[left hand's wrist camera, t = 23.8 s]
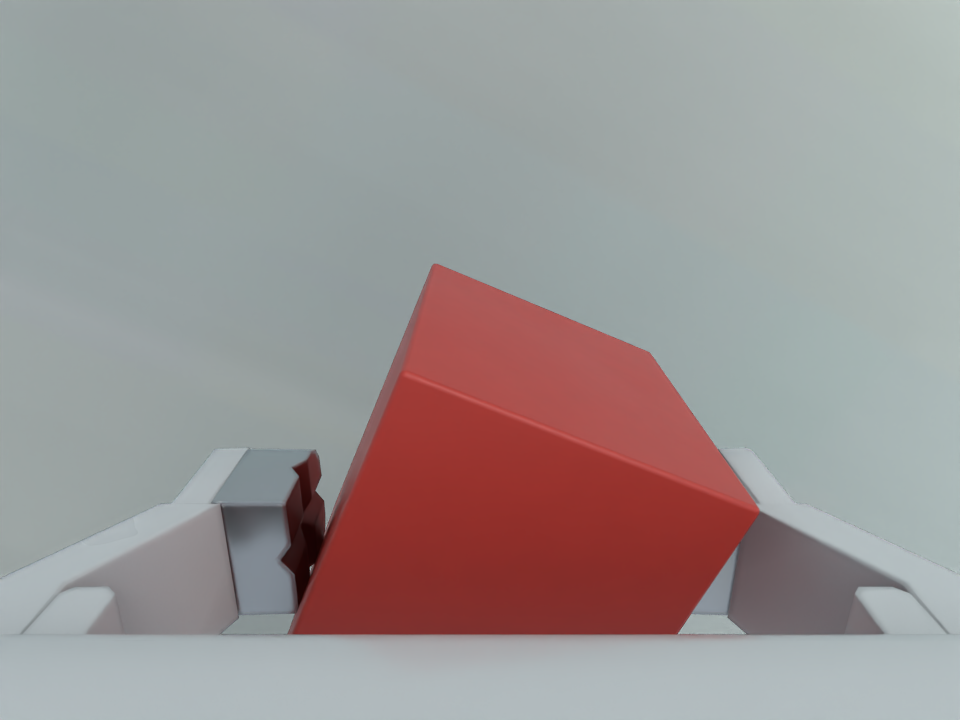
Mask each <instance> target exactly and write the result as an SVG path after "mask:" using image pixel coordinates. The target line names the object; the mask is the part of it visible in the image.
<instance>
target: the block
mask: <svg viewBox="0 0 960 720" xmlns="http://www.w3.org/2000/svg"><path fill="white" fill-rule="evenodd" d="M759 512H760V510H759V508H758V506H757V505H756V503H755V502H754V500H753V499H752V498H751V496H750V495H749V493H748V492H747V490H746V489H745V488H744V486H743V485H742V483H741V482H740V480H739V479H738V478H737V476H736V475H735V473H734V472H733V470H732V469H731V468H730V466H729V465H728V463H727V462H726V460H725V459H724V458H723V456H722V455H721V453H720V452H719V450H718V449H717V448H716V446H715V445H714V443H713V442H712V440H711V439H710V438H709V436H708V435H707V433H706V432H705V430H704V429H703V428H702V426H701V425H700V423H699V422H698V420H697V419H696V418H695V416H694V415H693V413H692V412H691V411H690V409H689V408H688V406H687V405H686V403H685V402H684V401H683V399H682V398H681V396H680V395H679V393H678V392H677V391H676V389H675V388H674V386H673V385H672V383H671V382H670V381H669V379H668V378H667V376H666V375H665V373H664V372H663V371H662V369H661V368H660V366H659V365H658V363H657V362H656V361H655V359H654V358H653V356H652V355H651V354H650V353H649V352H647V351H645V350H643V349H640V348H638V347H635V346H633V345H631V344H628V343H626V342H623V341H621V340H619V339H616V338H614V337H611V336H609V335H607V334H604V333H602V332H600V331H597V330H595V329H592V328H590V327H588V326H585V325H583V324H580V323H578V322H576V321H573V320H571V319H568V318H566V317H564V316H561V315H559V314H556V313H554V312H552V311H549V310H547V309H544V308H542V307H540V306H537V305H535V304H532V303H530V302H528V301H525V300H523V299H520V298H518V297H516V296H513V295H511V294H508V293H506V292H504V291H501V290H499V289H496V288H494V287H492V286H489V285H487V284H484V283H482V282H480V281H477V280H475V279H472V278H470V277H468V276H465V275H463V274H460V273H458V272H456V271H453V270H451V269H448V268H446V267H444V266H441V265H439V264H433V265H432V267H431V269H430V272H429V274H428V277H427V279H426V282H425V284H424V287H423V289H422V291H421V294H420V296H419V299H418V301H417V304H416V306H415V309H414V311H413V314H412V316H411V319H410V321H409V323H408V326H407V328H406V331H405V333H404V336H403V338H402V341H401V343H400V346H399V348H398V351H397V353H396V355H395V358H394V360H393V363H392V365H391V368H390V370H389V373H388V375H387V378H386V380H385V383H384V385H383V387H382V390H381V392H380V395H379V397H378V400H377V402H376V405H375V407H374V410H373V412H372V414H371V417H370V419H369V422H368V424H367V427H366V429H365V432H364V434H363V437H362V439H361V442H360V444H359V446H358V449H357V451H356V454H355V456H354V459H353V461H352V464H351V466H350V469H349V471H348V474H347V476H346V478H345V481H344V483H343V486H342V488H341V491H340V493H339V496H338V498H337V501H336V503H335V506H334V509H333V511H332V514H331V517H330V520H329V522H328V525H327V528H326V530H325V534H324V539H323V542H322V545H321V548H320V550H319V553H318V556H317V558H316V561H315V564H313V566H312V569H311V571H310V578H309V581H308V583H307V586H306V589H305V592H304V594H303V597H302V600H301V603H300V605H299V608H298V611H297V613H295V615H294V618H293V621H292V623H291V626H290V629H289V632H288V634H678V632H679V631H680V629H681V628H682V627H683V625H684V624H685V622H686V621H687V619H688V618H689V616H690V615H691V613H692V612H693V610H694V609H695V607H696V606H697V605H698V603H699V602H700V600H701V599H702V597H703V596H704V594H705V593H706V591H707V590H708V588H709V587H710V585H711V584H712V583H713V581H714V580H715V578H716V577H717V575H718V574H719V572H720V571H721V569H722V568H723V566H724V565H725V563H726V562H727V561H728V559H729V558H730V556H731V555H732V553H733V552H734V550H735V549H736V547H737V546H738V544H739V543H740V541H741V540H742V539H743V537H744V536H745V534H746V533H747V531H748V530H749V528H750V527H751V525H752V524H753V522H754V521H755V519H756V518H757V517H758V515H759Z"/></svg>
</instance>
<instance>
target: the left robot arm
mask: <svg viewBox="0 0 960 720" xmlns="http://www.w3.org/2000/svg"><path fill="white" fill-rule="evenodd" d="M718 450H719V452H720V453H721V455H722V456H723V458H724V459H725V460H726V462H727V463H728V465H729V466H730V468H731V469H732V470H733V472H734V473H735V475H736V476H737V478H738V479H739V480H740V482H741V483H742V485H743V486H744V488H745V489H746V490H747V492H748V493H749V495H750V496H751V498H752V499H753V500H754V502H755V503H756V505H757V506H758V508H759V510H760V512H759V515H758V517H757V518H756V519H755V521H754V522H753V524H752V525H751V527H750V528H749V530H748V531H747V533H746V534H745V536H744V537H743V539H742V540H741V541H740V543H739V544H738V546H737V547H736V549H735V550H734V552H733V553H732V555H731V556H730V558H729V559H728V561H727V562H726V563H725V565H724V566H723V568H722V569H721V571H720V572H719V574H718V575H717V577H716V578H715V580H714V581H713V583H712V584H711V585H710V587H709V588H708V590H707V591H706V593H705V594H704V596H703V597H702V599H701V600H700V602H699V603H698V605H697V606H696V607H695V609H694V610H693V612H692V613H691V614H711V615H728V618H729V619H730V620H731V621H732V622H733V623H735V624H736V625H737V626H738V627H739V628H740V629H742V630H743V631H744V632H745V633H746V634H221V633H222V632H223V631H224V630H225V629H227V628H228V627H229V626H230V625H231V624H232V623H234V622H235V621H236V620H237V619H238V618H239V616H238V615H255V614H291V613H297V611H298V608H299V605H300V603H301V600H302V597H303V594H304V592H305V589H306V586H307V583H308V581H309V578H310V568H309V567H310V566H312V565H313V564H315V561H316V558H317V556H318V553H319V550H320V548H321V545H322V542H323V539H324V534H325V507H324V500H323V499H322V498H321V497H320V496H319V495H318V493H317V492H316V491H315V490H316V487H317V485H318V483H319V480H320V478H321V468H320V460H319V455H318V454H317V452H316V450H311V449H256V448H253V449H250V448H221V449H214V450H213V452H212V453H211V454H210V455H209V457H208V458H207V459H206V460H205V462H204V463H203V464H202V465H201V467H200V468H199V469H198V470H197V472H196V473H195V474H194V475H193V477H192V478H191V479H190V480H189V482H188V483H187V484H186V486H185V487H184V488H183V489H182V491H181V492H180V493H179V494H178V496H177V497H176V498H175V499H174V501H173V502H172V503H164V504H159V505H156V506H154V507H152V508H150V509H148V510H146V511H144V512H141V513H139V514H137V515H135V516H133V517H131V518H129V519H126V520H124V521H122V522H120V523H118V524H116V525H113V526H111V527H109V528H107V529H105V530H103V531H101V532H98V533H96V534H94V535H92V536H90V537H88V538H86V539H83V540H81V541H79V542H77V543H75V544H73V545H70V546H68V547H66V548H64V549H62V550H60V551H58V552H55V553H53V554H51V555H49V556H47V557H45V558H43V559H40V560H38V561H36V562H34V563H32V564H30V565H27V566H25V567H23V568H21V569H19V570H17V571H15V572H12V573H10V574H8V575H6V576H4V577H2V578H0V720H960V574H958V573H956V572H953V571H951V570H949V569H947V568H945V567H943V566H940V565H938V564H936V563H934V562H932V561H930V560H927V559H925V558H923V557H921V556H919V555H917V554H915V553H912V552H910V551H908V550H906V549H904V548H902V547H899V546H897V545H895V544H893V543H891V542H889V541H886V540H884V539H882V538H880V537H878V536H876V535H873V534H871V533H869V532H867V531H865V530H863V529H860V528H858V527H856V526H854V525H852V524H850V523H847V522H845V521H843V520H841V519H839V518H837V517H834V516H832V515H830V514H828V513H826V512H824V511H821V510H819V509H817V508H815V507H813V506H811V505H808V504H804V503H795V502H794V501H793V499H792V498H791V497H790V496H789V495H788V493H787V492H786V491H785V490H784V488H783V487H782V486H781V485H780V484H779V482H778V481H777V480H776V479H775V477H774V476H773V475H772V474H771V472H770V471H769V470H768V469H767V468H766V466H765V465H764V464H763V463H762V461H761V460H760V459H759V458H758V457H757V455H756V454H755V453H754V452H753V450H751V449H748V448H725V449H718Z"/></svg>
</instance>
